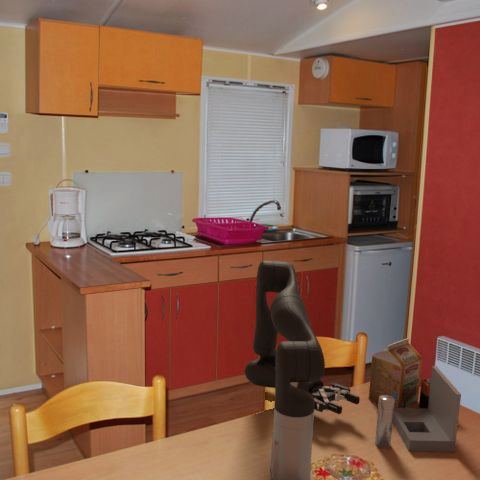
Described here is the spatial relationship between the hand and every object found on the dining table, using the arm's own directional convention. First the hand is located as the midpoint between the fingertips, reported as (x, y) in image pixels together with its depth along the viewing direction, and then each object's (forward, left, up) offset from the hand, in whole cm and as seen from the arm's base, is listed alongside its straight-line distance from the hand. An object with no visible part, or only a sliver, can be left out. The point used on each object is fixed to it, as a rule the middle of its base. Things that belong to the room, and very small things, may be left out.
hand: (350, 405), depth 163 cm
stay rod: (+8, -8, -7) cm, 13 cm away
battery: (+28, +12, -7) cm, 31 cm away
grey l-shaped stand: (+20, -2, -7) cm, 21 cm away
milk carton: (+18, +18, -7) cm, 27 cm away
